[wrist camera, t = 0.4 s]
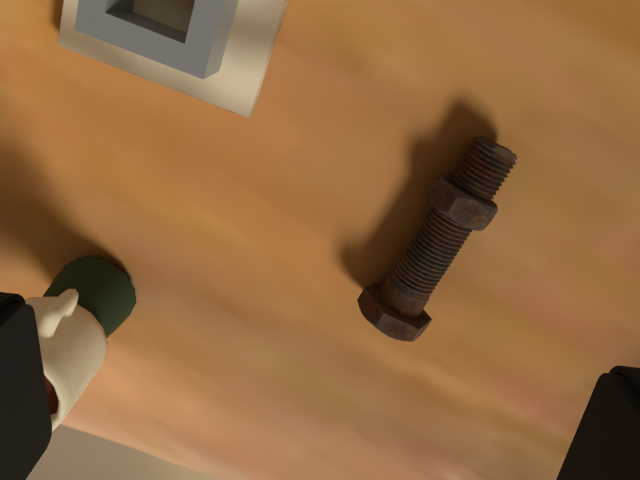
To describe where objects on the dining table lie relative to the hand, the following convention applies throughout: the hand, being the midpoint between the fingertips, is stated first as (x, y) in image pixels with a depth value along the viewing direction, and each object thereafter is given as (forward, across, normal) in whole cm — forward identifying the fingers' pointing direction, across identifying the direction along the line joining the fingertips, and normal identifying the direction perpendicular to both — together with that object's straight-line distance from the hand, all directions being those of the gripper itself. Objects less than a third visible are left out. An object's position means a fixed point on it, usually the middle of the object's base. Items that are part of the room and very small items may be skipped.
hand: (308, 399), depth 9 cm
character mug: (+30, +18, +17) cm, 39 cm away
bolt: (+30, -8, +9) cm, 32 cm away
